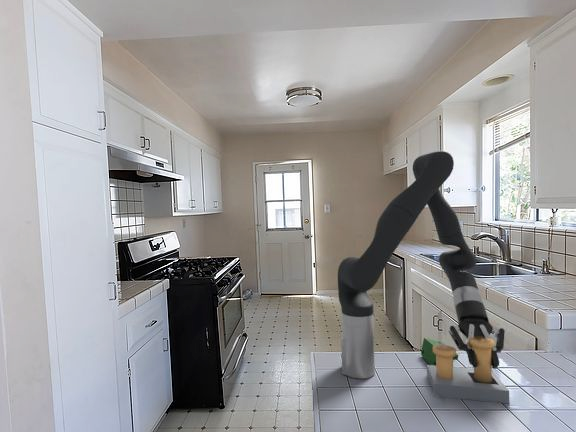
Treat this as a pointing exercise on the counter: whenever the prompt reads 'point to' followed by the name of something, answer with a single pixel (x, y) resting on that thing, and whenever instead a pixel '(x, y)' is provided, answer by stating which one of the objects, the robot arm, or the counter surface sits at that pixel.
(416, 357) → the counter surface
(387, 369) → the counter surface
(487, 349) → the tan peg
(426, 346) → the clamp
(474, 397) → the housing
